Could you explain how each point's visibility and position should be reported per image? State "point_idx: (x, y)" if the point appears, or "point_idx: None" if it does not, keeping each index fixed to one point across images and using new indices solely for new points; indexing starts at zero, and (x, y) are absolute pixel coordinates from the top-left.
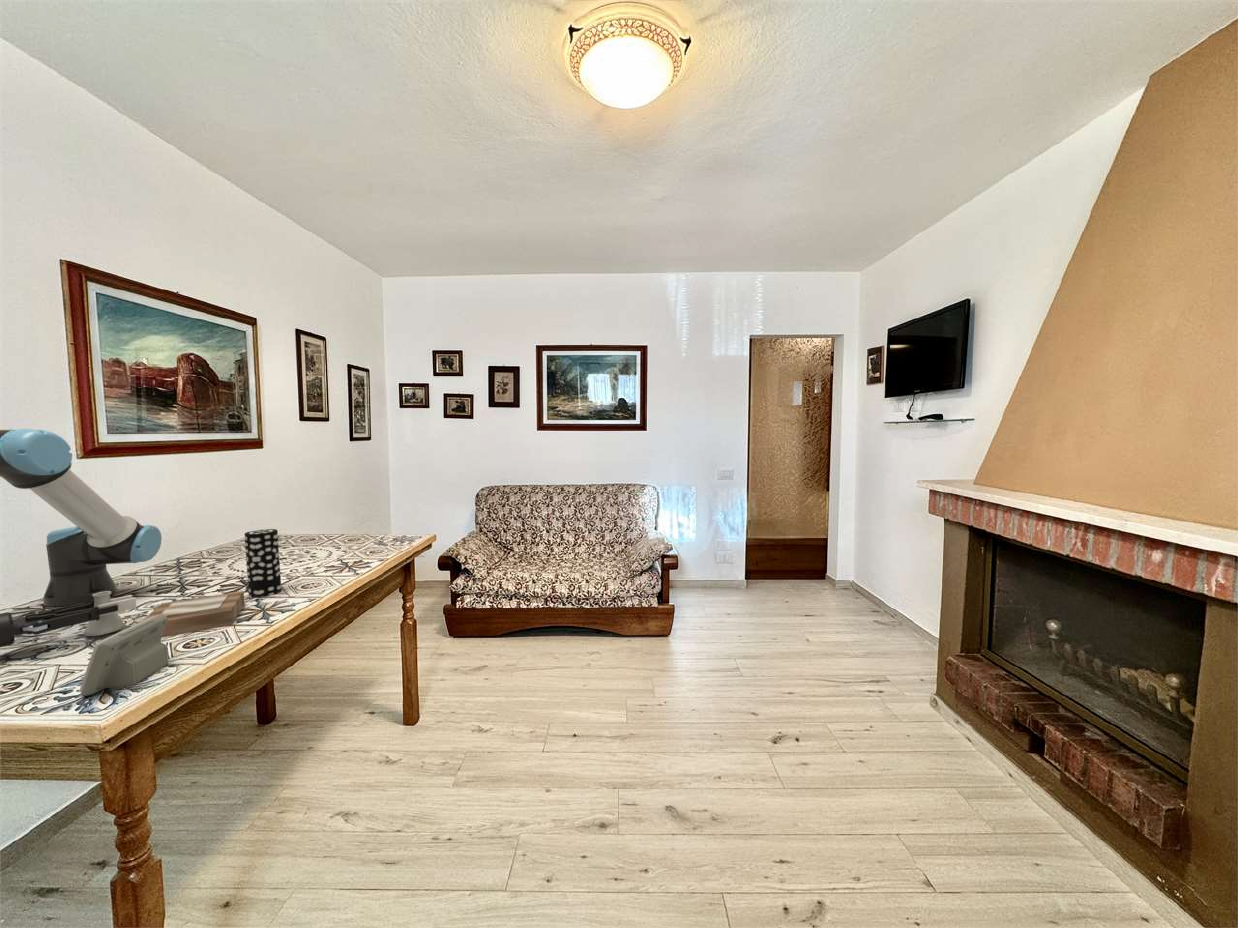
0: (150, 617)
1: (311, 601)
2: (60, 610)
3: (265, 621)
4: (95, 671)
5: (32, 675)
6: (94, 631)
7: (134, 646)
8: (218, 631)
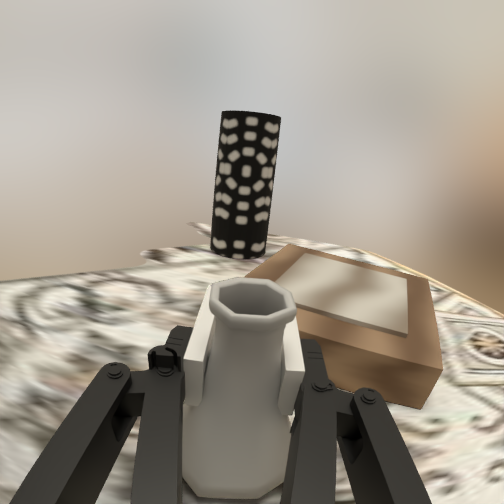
0: (376, 344)
1: (364, 253)
2: (153, 494)
3: (430, 290)
4: None
5: None
6: (280, 472)
7: None
8: (445, 323)
